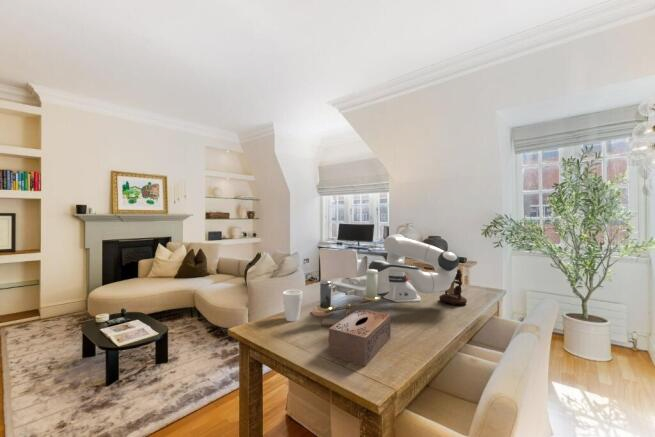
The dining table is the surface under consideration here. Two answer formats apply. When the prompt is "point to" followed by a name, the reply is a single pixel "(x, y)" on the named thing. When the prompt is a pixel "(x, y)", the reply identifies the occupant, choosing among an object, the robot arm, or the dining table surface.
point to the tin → (325, 294)
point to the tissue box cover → (359, 336)
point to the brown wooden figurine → (454, 292)
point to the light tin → (371, 283)
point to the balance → (333, 321)
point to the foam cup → (292, 304)
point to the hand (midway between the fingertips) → (338, 291)
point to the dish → (320, 313)
